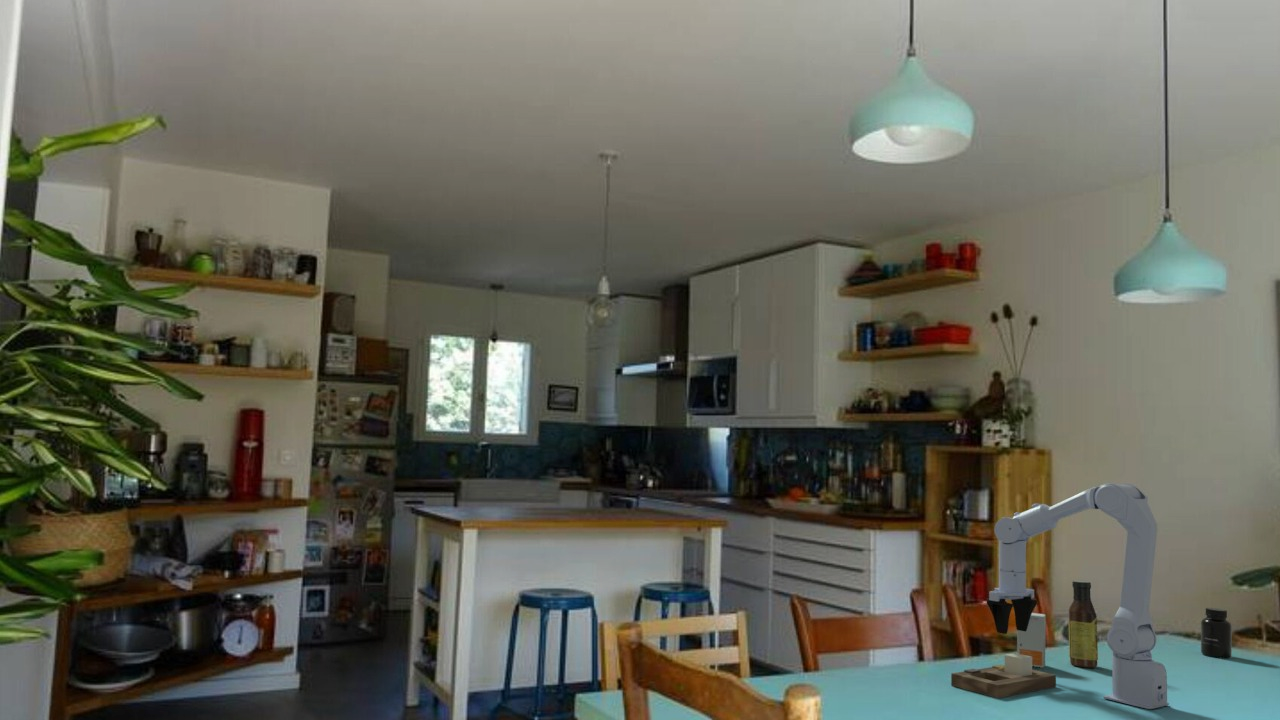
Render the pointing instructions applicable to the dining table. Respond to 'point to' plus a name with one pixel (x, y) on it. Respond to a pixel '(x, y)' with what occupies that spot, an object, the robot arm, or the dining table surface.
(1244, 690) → the dining table surface
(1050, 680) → the socket board
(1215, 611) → the supplement bottle
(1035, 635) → the skincare box
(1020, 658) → the plug
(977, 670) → the grey tag
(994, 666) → the brass tag
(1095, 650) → the sauce bottle
